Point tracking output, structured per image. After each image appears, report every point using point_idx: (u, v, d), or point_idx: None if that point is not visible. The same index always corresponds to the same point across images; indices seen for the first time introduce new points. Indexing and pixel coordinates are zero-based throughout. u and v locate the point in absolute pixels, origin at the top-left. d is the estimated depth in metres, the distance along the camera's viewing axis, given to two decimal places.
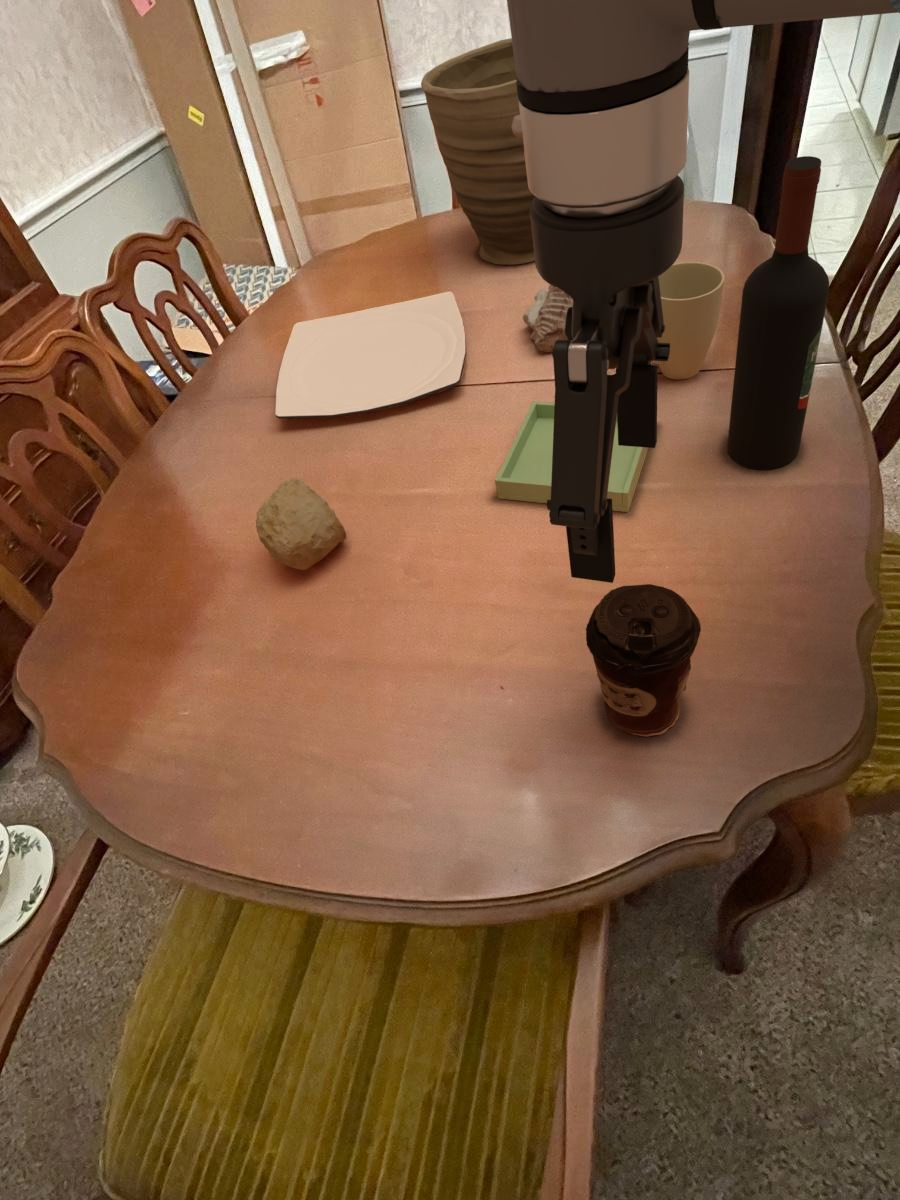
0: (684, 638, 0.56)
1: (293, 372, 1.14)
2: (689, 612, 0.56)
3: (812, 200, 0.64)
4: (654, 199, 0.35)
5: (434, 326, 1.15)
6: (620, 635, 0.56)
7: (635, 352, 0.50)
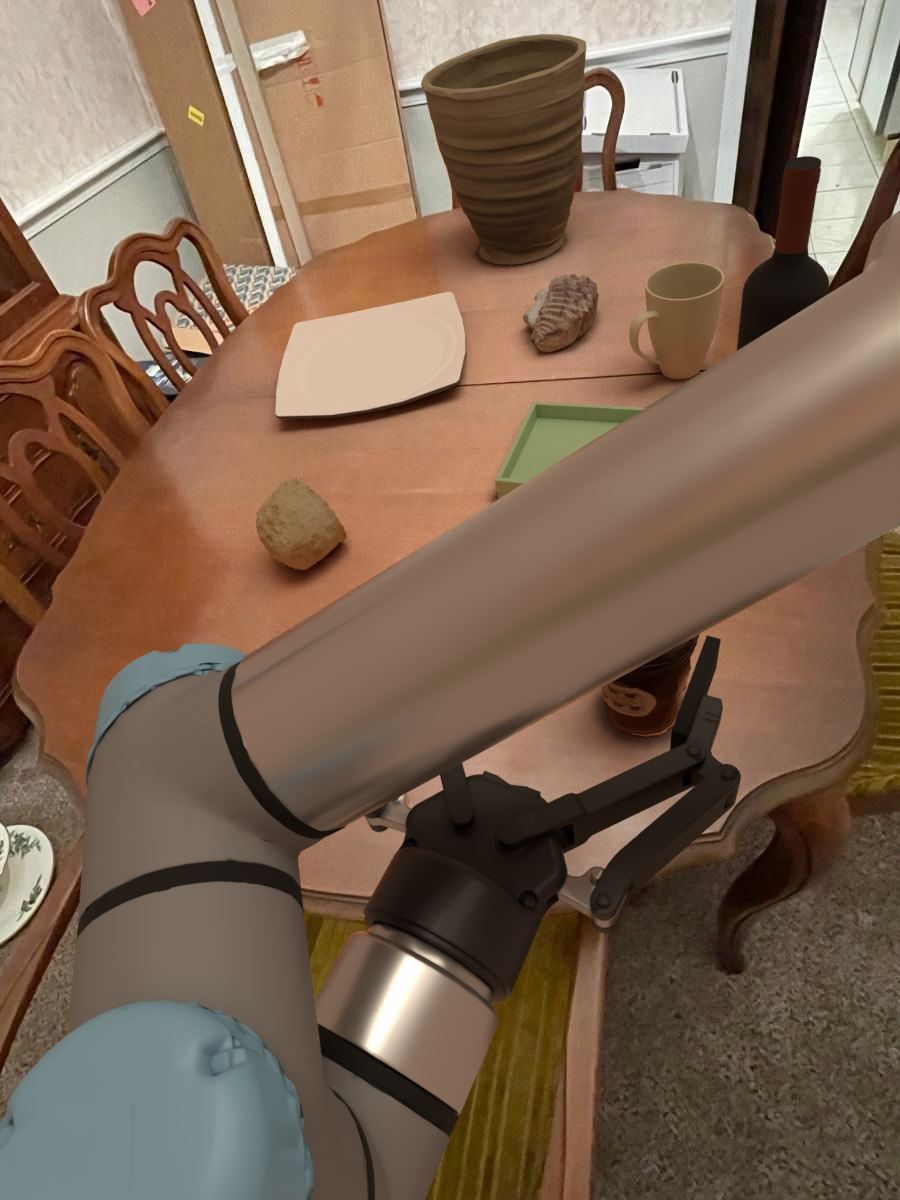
0: None
1: (293, 372, 1.14)
2: None
3: (812, 200, 0.64)
4: (451, 958, 0.31)
5: (434, 326, 1.15)
6: None
7: None
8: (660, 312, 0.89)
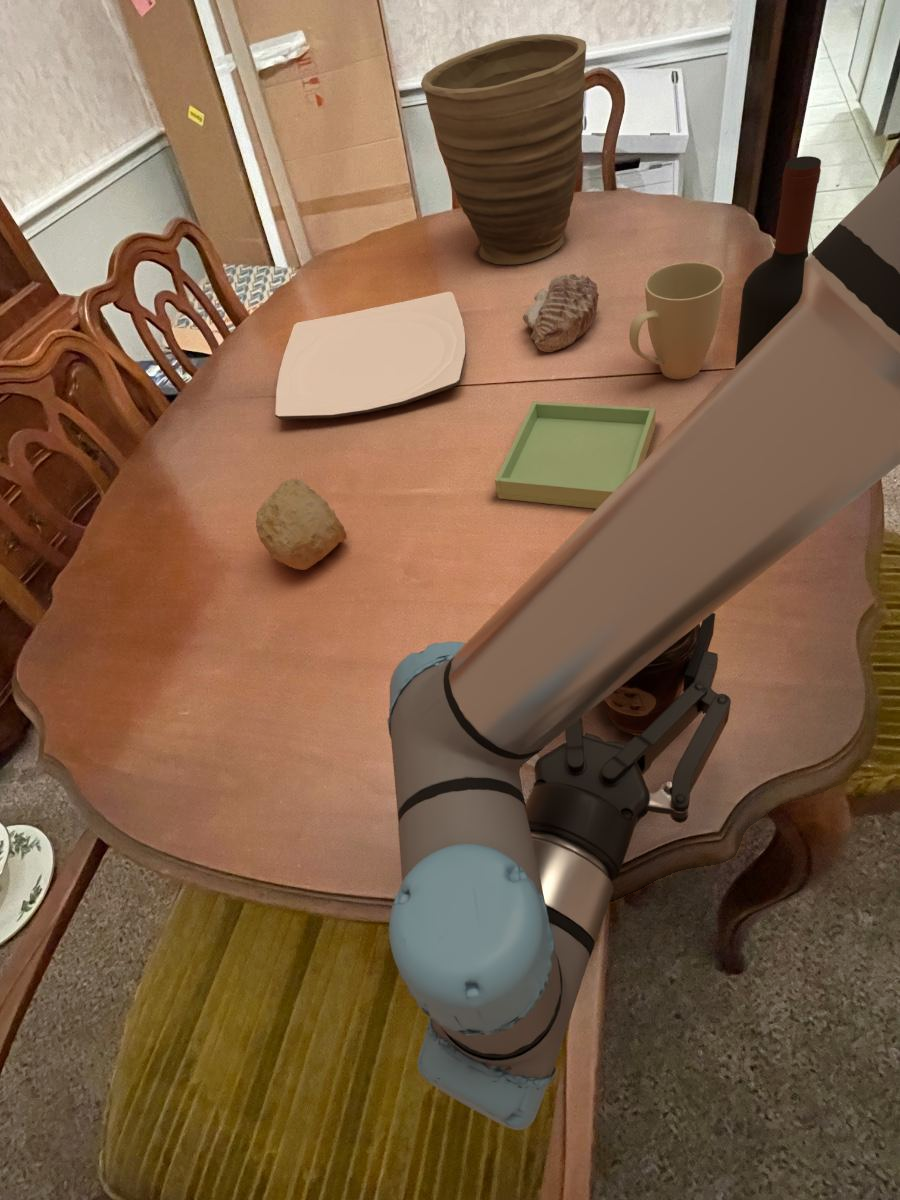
0: (684, 637, 0.56)
1: (293, 372, 1.14)
2: None
3: (812, 200, 0.64)
4: (583, 848, 0.49)
5: (434, 326, 1.15)
6: None
7: None
8: (660, 312, 0.89)
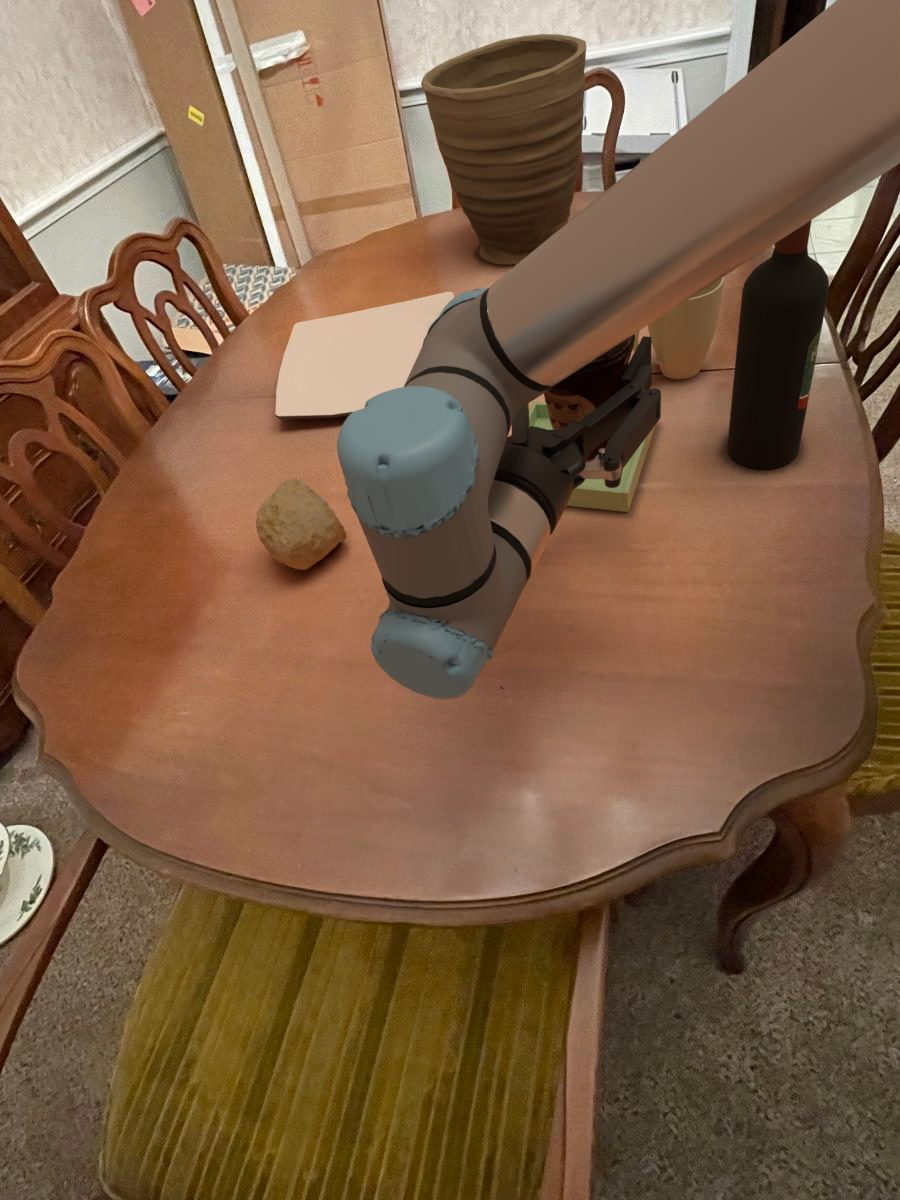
0: None
1: (293, 372, 1.14)
2: None
3: None
4: (522, 488, 0.54)
5: None
6: None
7: None
8: None
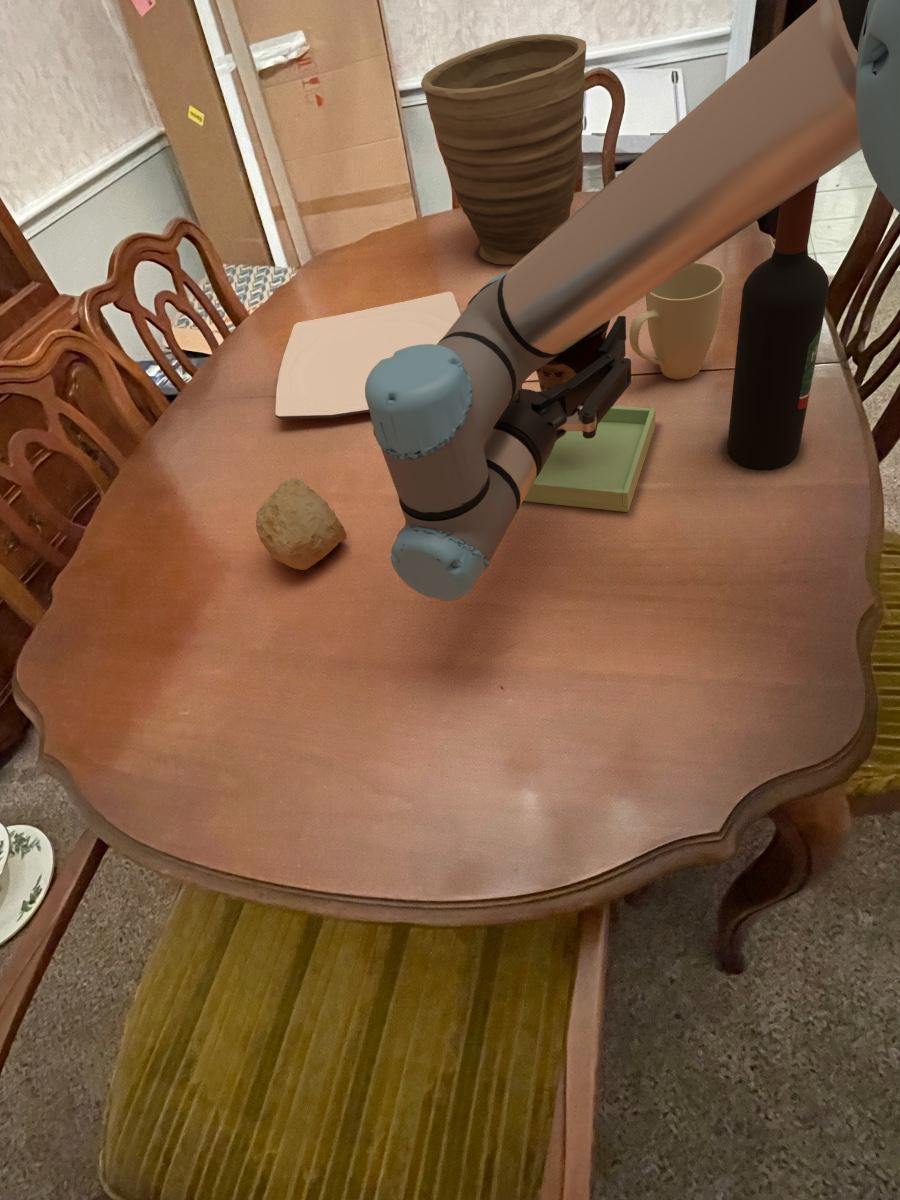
0: None
1: (293, 372, 1.14)
2: None
3: (811, 200, 0.64)
4: (513, 435, 0.67)
5: (434, 326, 1.15)
6: None
7: None
8: (660, 312, 0.89)
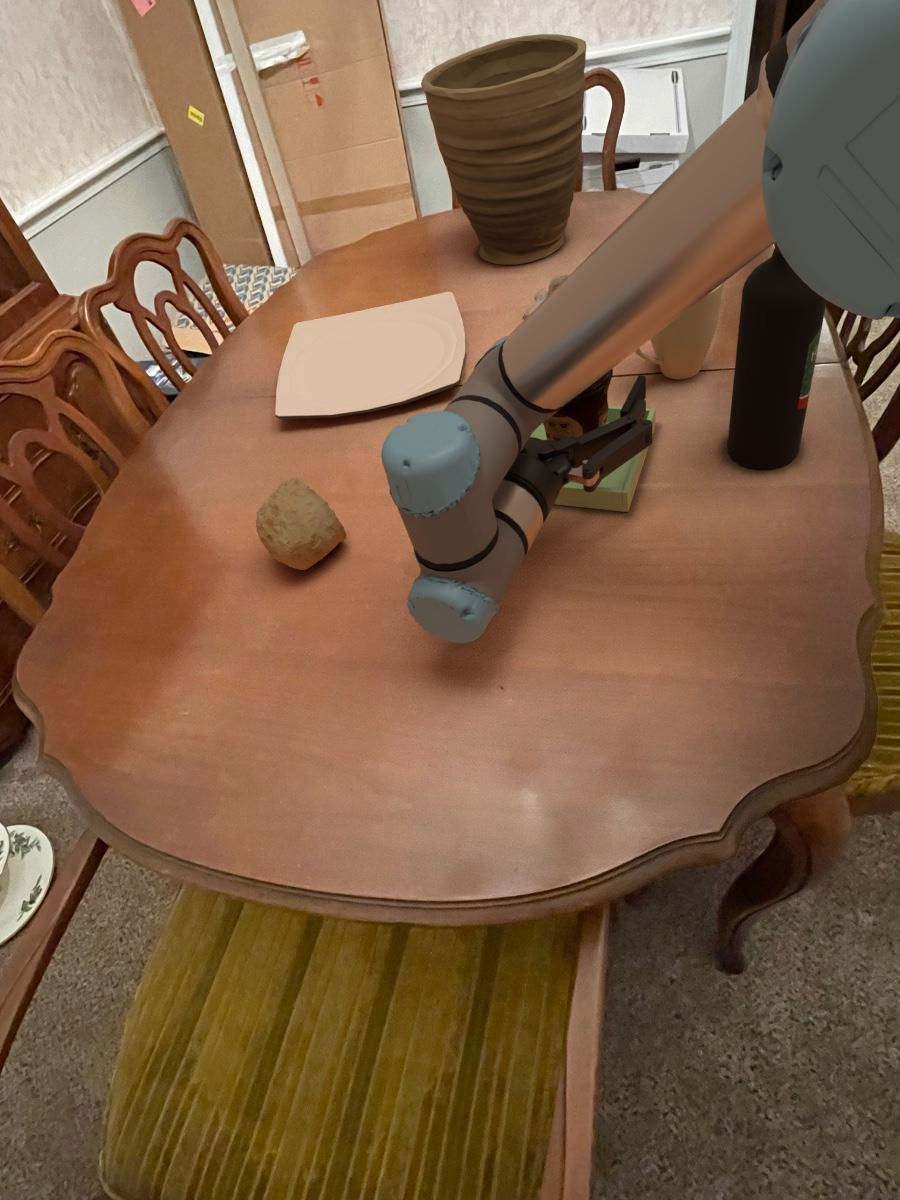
0: None
1: (293, 372, 1.14)
2: None
3: None
4: (521, 485, 0.71)
5: (434, 326, 1.15)
6: None
7: None
8: None
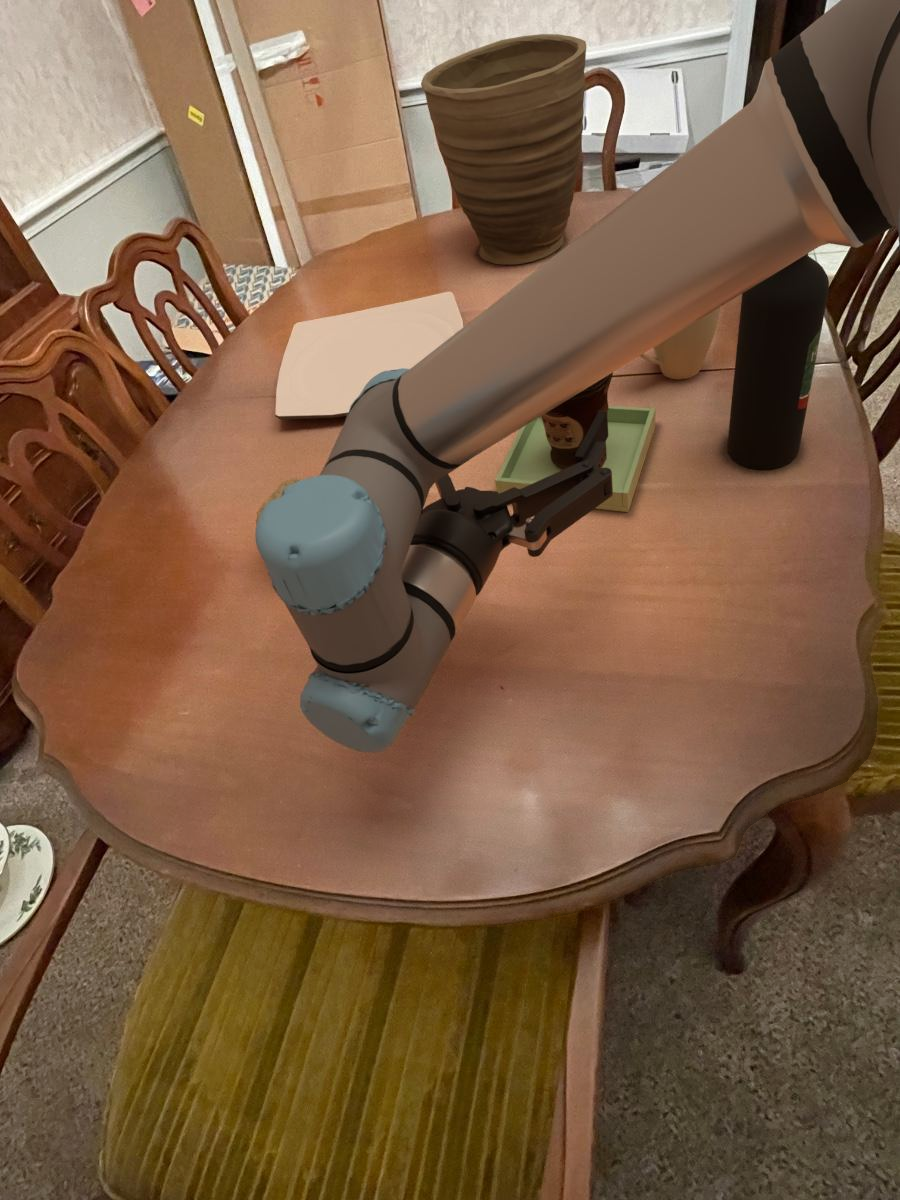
0: None
1: (293, 372, 1.14)
2: None
3: None
4: (448, 552, 0.58)
5: (434, 326, 1.15)
6: None
7: None
8: None
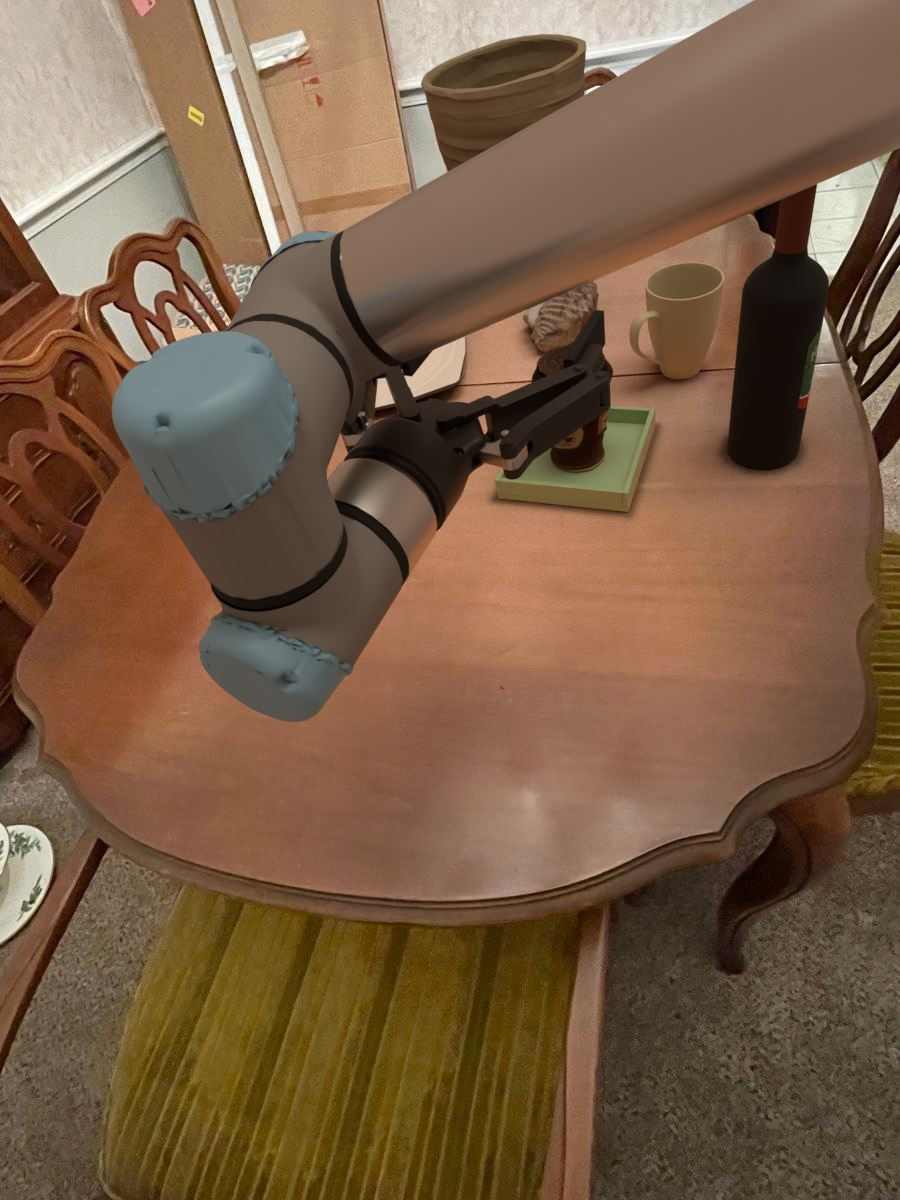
0: None
1: None
2: (603, 356, 0.79)
3: (811, 200, 0.64)
4: (401, 468, 0.45)
5: None
6: (554, 372, 0.79)
7: None
8: (660, 312, 0.89)
